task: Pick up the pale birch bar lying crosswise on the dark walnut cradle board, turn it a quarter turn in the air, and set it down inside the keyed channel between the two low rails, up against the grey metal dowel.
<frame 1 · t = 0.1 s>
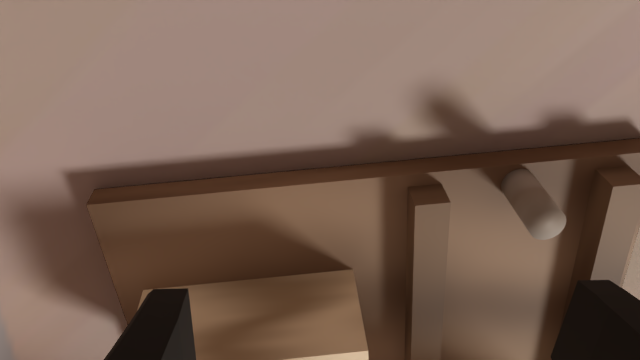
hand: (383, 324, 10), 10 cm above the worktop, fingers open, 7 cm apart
cradle: (375, 288, 23), on the worktop
birch bar: (255, 317, 22), point 1 cm above the worktop, touching cradle
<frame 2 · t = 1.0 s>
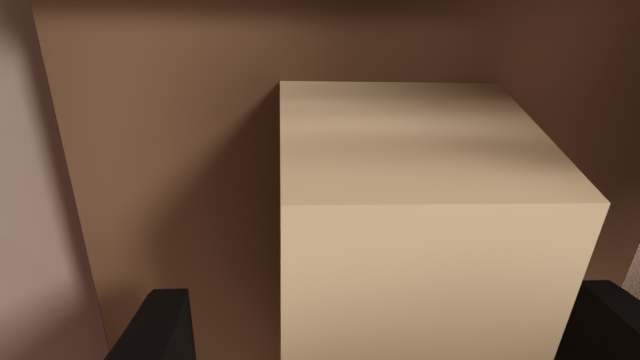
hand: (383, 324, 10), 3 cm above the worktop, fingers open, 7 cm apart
cradle: (386, 11, 10), on the worktop
birch bar: (372, 256, 12), point 1 cm above the worktop, touching cradle
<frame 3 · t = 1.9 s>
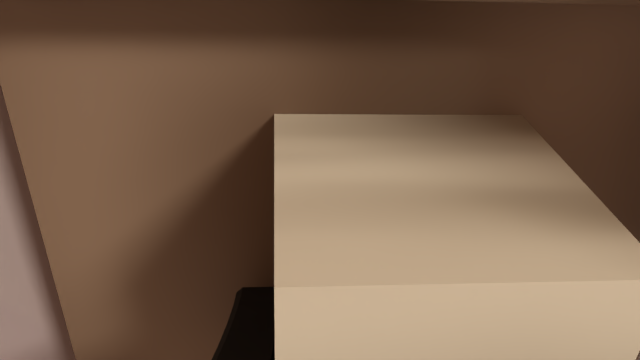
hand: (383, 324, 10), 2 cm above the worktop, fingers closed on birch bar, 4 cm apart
cradle: (395, 34, 9), on the worktop
birch bar: (377, 301, 11), point 1 cm above the worktop, touching cradle, gripper
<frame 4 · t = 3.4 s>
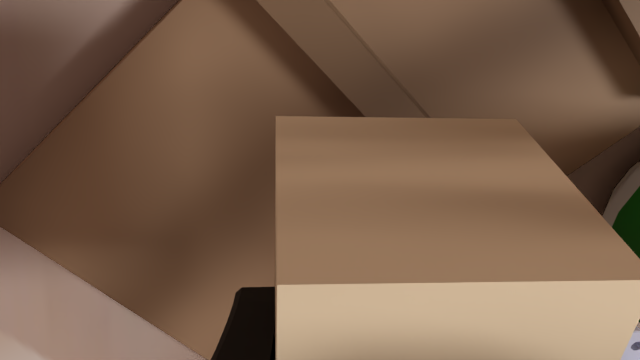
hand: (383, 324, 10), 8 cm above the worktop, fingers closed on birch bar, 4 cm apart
cradle: (343, 123, 18), on the worktop
birch bar: (374, 299, 11), point 8 cm above the worktop, touching gripper
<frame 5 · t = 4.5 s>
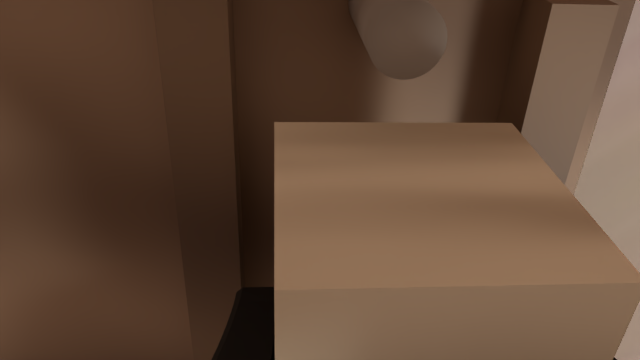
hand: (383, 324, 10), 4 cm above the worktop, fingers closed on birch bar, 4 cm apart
cradle: (151, 206, 14), on the worktop
birch bar: (374, 301, 11), point 3 cm above the worktop, touching gripper
when the fingers open (3 cm above the worktop, at t = 5.2 s): birch bar stays where it is, resting on cradle.
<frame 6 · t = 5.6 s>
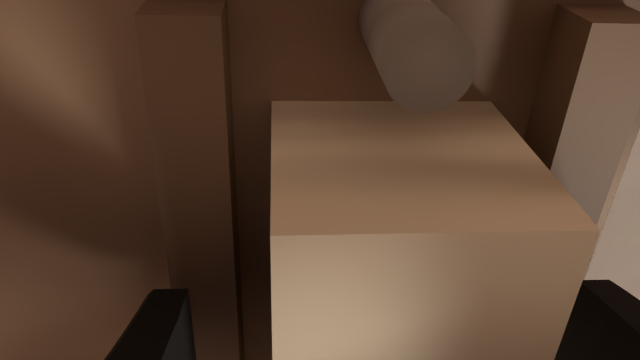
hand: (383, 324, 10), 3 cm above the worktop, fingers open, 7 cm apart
cradle: (140, 237, 12), on the worktop
birch bar: (366, 272, 12), point 1 cm above the worktop, touching cradle
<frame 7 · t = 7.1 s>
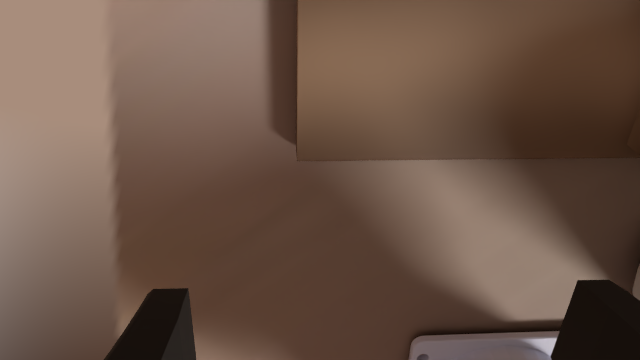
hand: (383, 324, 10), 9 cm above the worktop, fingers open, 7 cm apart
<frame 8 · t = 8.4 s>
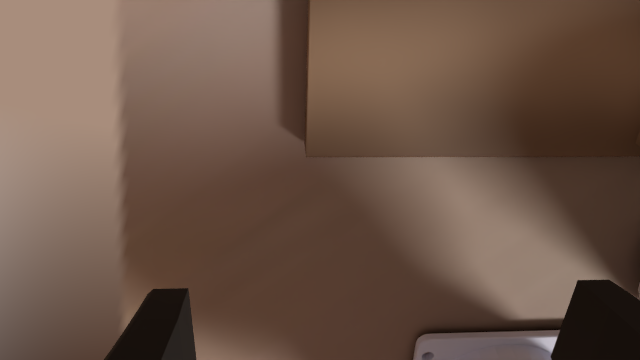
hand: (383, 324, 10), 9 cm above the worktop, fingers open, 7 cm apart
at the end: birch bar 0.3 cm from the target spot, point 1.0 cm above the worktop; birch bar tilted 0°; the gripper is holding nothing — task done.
